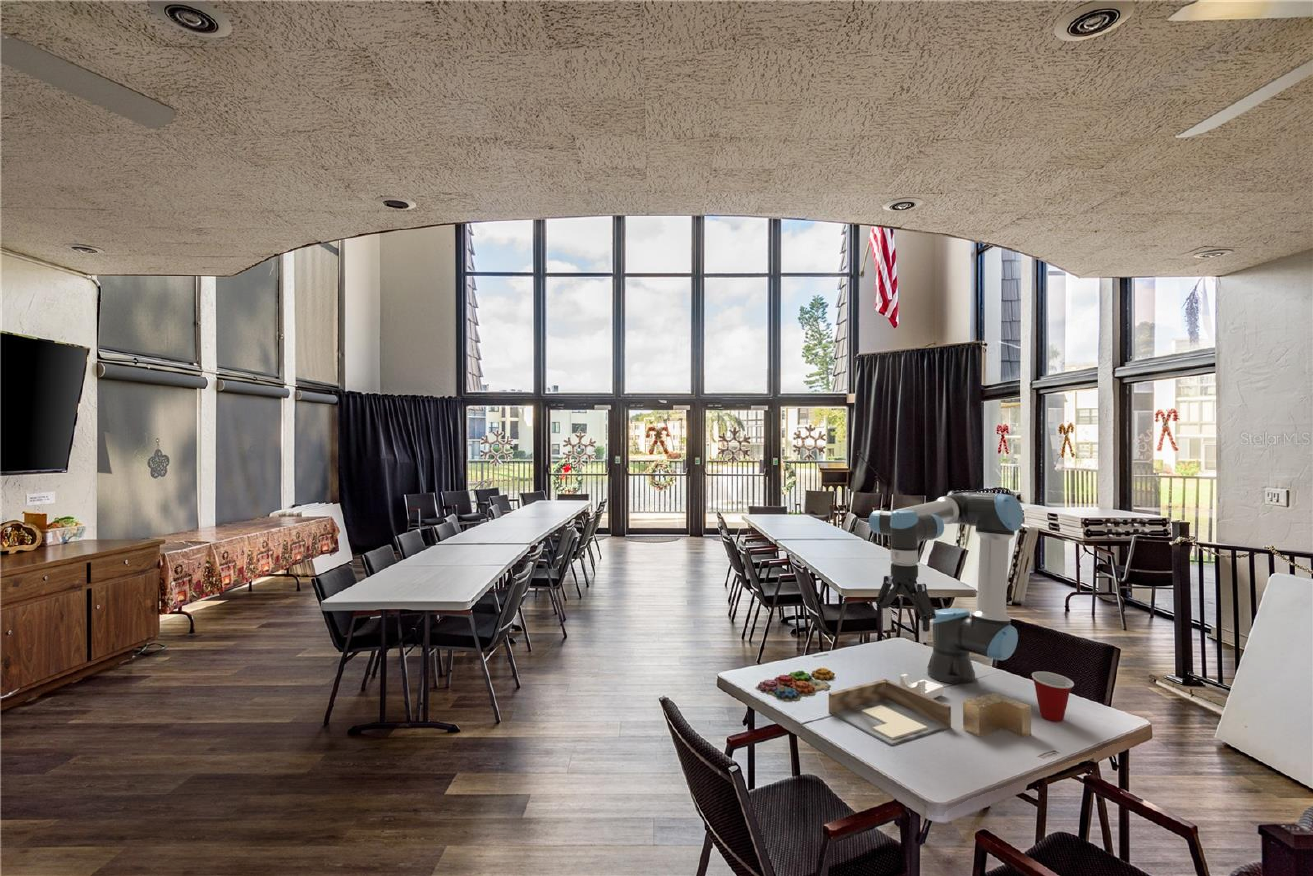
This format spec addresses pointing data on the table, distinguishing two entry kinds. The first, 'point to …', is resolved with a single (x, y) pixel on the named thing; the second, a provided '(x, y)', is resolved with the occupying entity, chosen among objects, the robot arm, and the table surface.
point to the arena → (894, 698)
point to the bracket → (922, 687)
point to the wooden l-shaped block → (996, 715)
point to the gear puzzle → (797, 684)
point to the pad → (893, 722)
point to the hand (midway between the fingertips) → (904, 635)
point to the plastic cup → (1052, 694)
